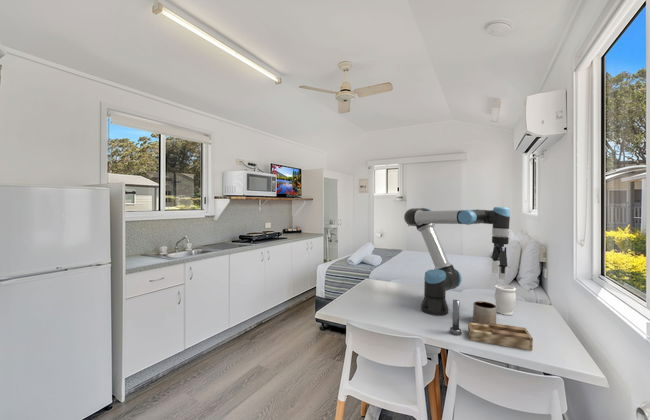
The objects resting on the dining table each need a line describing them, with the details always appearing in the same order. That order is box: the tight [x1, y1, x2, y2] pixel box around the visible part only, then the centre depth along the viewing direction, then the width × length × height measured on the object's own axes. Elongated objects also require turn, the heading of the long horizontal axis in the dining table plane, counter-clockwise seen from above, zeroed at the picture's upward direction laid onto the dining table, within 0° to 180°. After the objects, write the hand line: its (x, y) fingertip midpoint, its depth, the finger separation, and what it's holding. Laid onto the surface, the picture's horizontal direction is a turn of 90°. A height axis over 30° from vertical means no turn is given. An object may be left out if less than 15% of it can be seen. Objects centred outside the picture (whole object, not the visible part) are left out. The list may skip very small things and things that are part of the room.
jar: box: [494, 284, 517, 316], centre depth 165 cm, size 11×10×15 cm
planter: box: [472, 300, 497, 325], centre depth 151 cm, size 11×11×10 cm
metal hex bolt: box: [449, 299, 462, 337], centre depth 138 cm, size 5×5×16 cm
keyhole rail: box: [467, 321, 534, 351], centre depth 132 cm, size 24×11×5 cm, turn 68°
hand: (498, 275), depth 151 cm, fingers open, 13 cm apart
